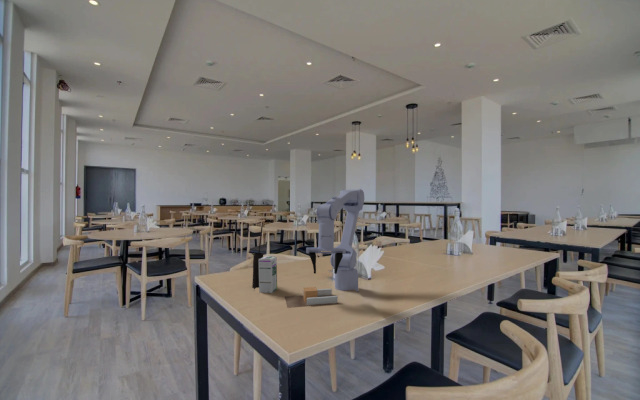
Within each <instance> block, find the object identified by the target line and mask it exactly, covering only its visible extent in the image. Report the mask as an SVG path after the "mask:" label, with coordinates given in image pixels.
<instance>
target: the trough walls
mask: <svg viewBox="0 0 640 400" xmlns="http://www.w3.org/2000/svg"><path fill="white" fill-rule="evenodd" d="M316 289H317V288H316ZM317 290H318V296H323V295H332V296H326V297H312V298H307V305H315V304H328V303H338V304H339V302H338V300H339V296H338V295H333V289H332V288H319V289H317ZM302 292H303V293H302V295H303V297H304V289H303V290H302Z"/></svg>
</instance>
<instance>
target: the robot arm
mask: <svg viewBox="0 0 640 400" xmlns="http://www.w3.org/2000/svg"><path fill="white" fill-rule="evenodd" d="M364 193H365V192H364V191H363V189H362V188H359V189H341V190H340V191H339V195H338V196H332V197H331V199H329V200H327V201H326V202H325V203H324V204H322V203H321V204H319V205H318V206H317V207H316V211H315V214H316V219H317V224H318V245H317V247H306V249H305V253H306V254H309V258H310V260H311V263H312V267H313V274H317V265H316V264H317V254H331V255H330V259H329V262H330V265H331V267H333V270H334V271H333V272H334V273H333V274H334V289H335V290H336V291H337V290H338V291H344V292H345V291H351V290H355V291H356V292H357V293H358V292H360V290H359V273H358V269H357V268H355V267H356V265H357V256H358V255H357V254H358V253H357V251H356V250H355V248H353V242H354V238H355V237H354V236H355V232H356V227H357V223H358V217H359V212H360V211H362V210H363V207H364V203H365V194H364ZM341 210H345V211H346V217H345V221H344V225H343V226H344V227H343V231H342V234H341V238H340V239H341V240H340V244H339V245H337V246H336V247H334V245H335V243H334V242H335V220H336V219H337V217H338V214H339V213H340V211H341Z"/></svg>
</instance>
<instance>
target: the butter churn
mask: <svg viewBox="0 0 640 400" xmlns="http://www.w3.org/2000/svg"><path fill="white" fill-rule="evenodd" d="M263 225H264V223H263V222H261V227H260V235H259V236H260V237H259V244H258V252H256V253H253V252H251V255H252V257H253V260H252V285H251V287H252V288H254V289H256V288H257V289H259V259H261V258H263V257H264V253H262V252H261V250H260V249H261V243H262V237H263V236H262V235H263V234H262V233H263Z"/></svg>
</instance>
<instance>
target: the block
mask: <svg viewBox="0 0 640 400" xmlns="http://www.w3.org/2000/svg"><path fill="white" fill-rule="evenodd" d="M303 290H304V301H305V302H307V298H312V297H318V290H317V288H316V286H309V287H303Z"/></svg>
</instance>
